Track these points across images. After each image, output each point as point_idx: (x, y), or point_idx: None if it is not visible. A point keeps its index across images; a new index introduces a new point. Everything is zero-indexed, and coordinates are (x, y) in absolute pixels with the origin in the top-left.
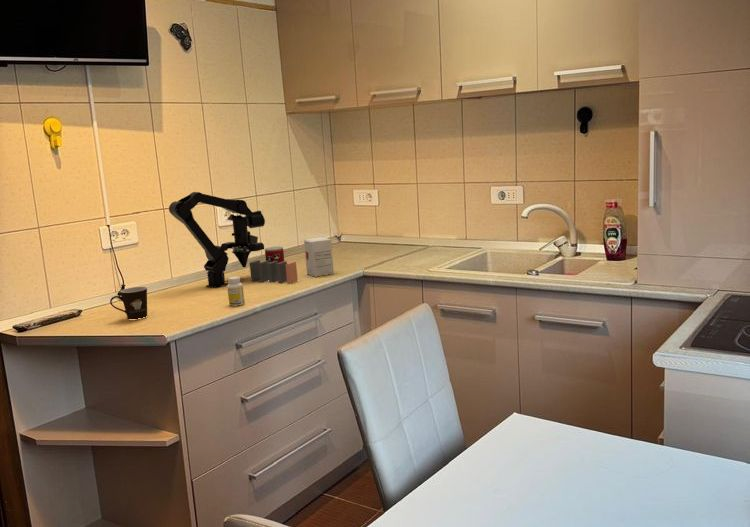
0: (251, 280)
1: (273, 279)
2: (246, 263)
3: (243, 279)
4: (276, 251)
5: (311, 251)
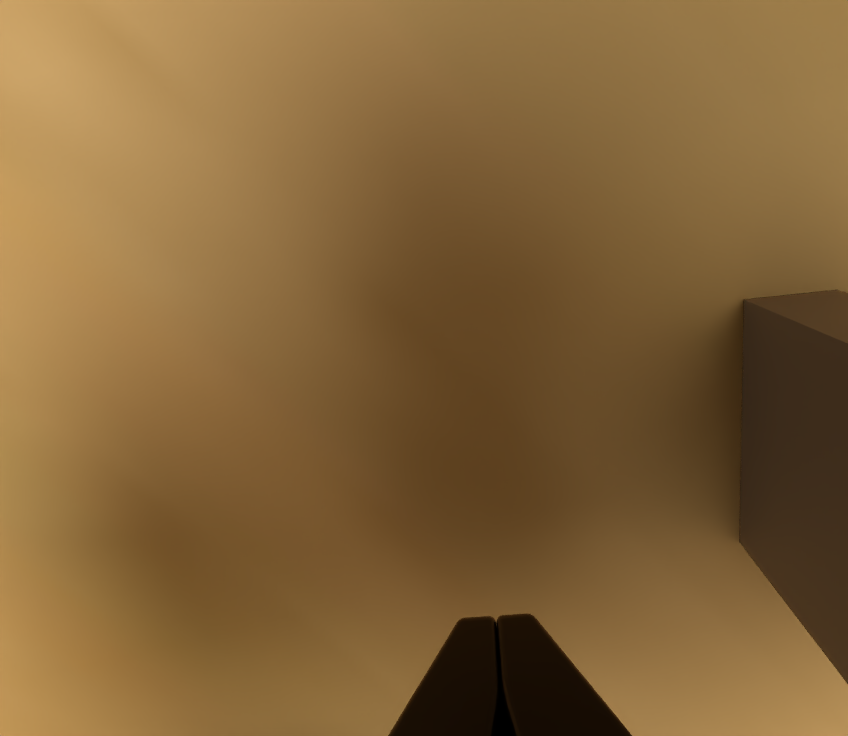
0: (753, 555)
1: None
2: (594, 699)
3: (388, 424)
4: None
5: None
